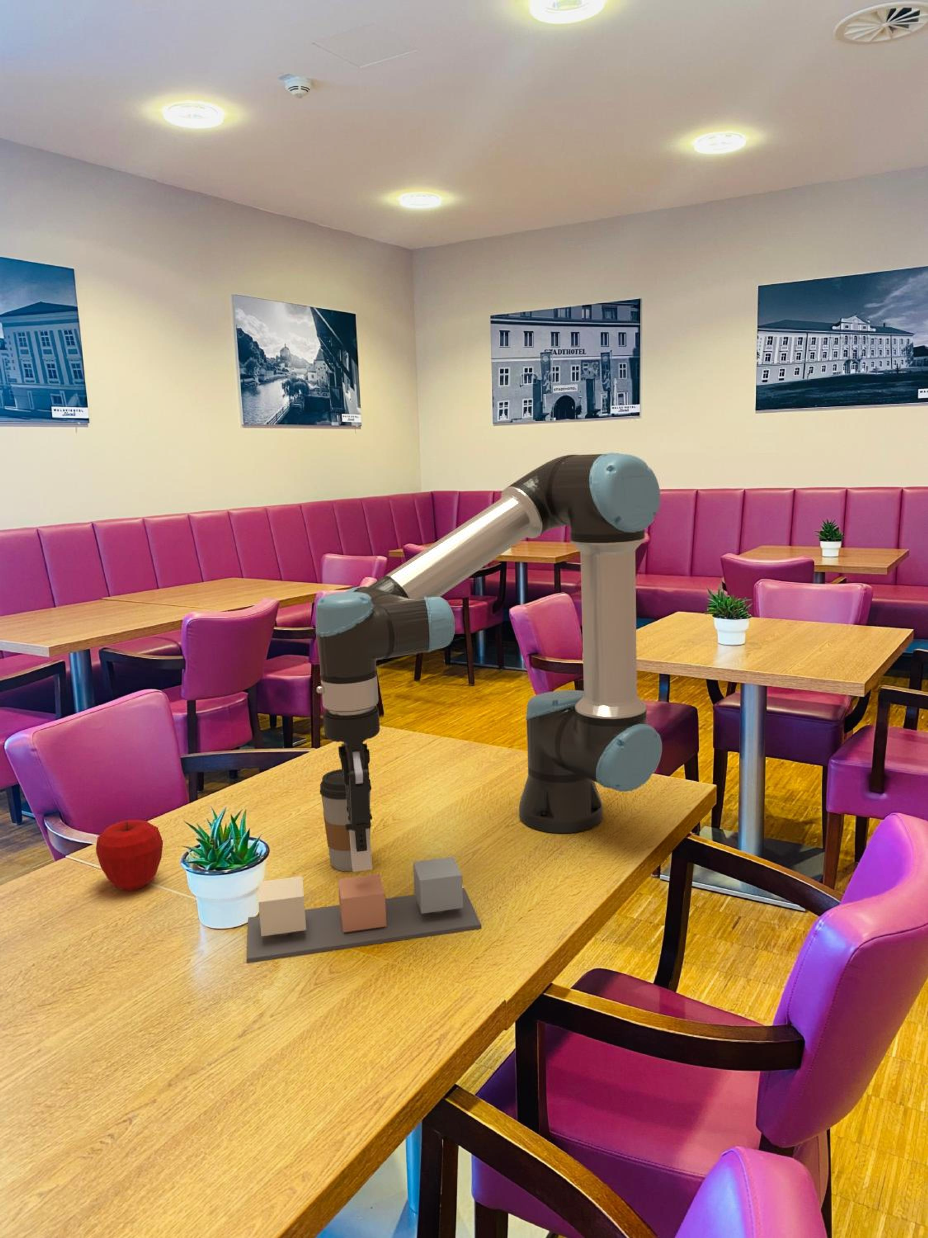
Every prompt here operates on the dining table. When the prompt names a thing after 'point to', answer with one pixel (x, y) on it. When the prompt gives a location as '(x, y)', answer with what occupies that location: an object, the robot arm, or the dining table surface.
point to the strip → (329, 934)
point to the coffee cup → (337, 819)
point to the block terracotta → (362, 902)
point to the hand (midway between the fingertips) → (362, 868)
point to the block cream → (281, 906)
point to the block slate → (438, 885)
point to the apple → (130, 853)
